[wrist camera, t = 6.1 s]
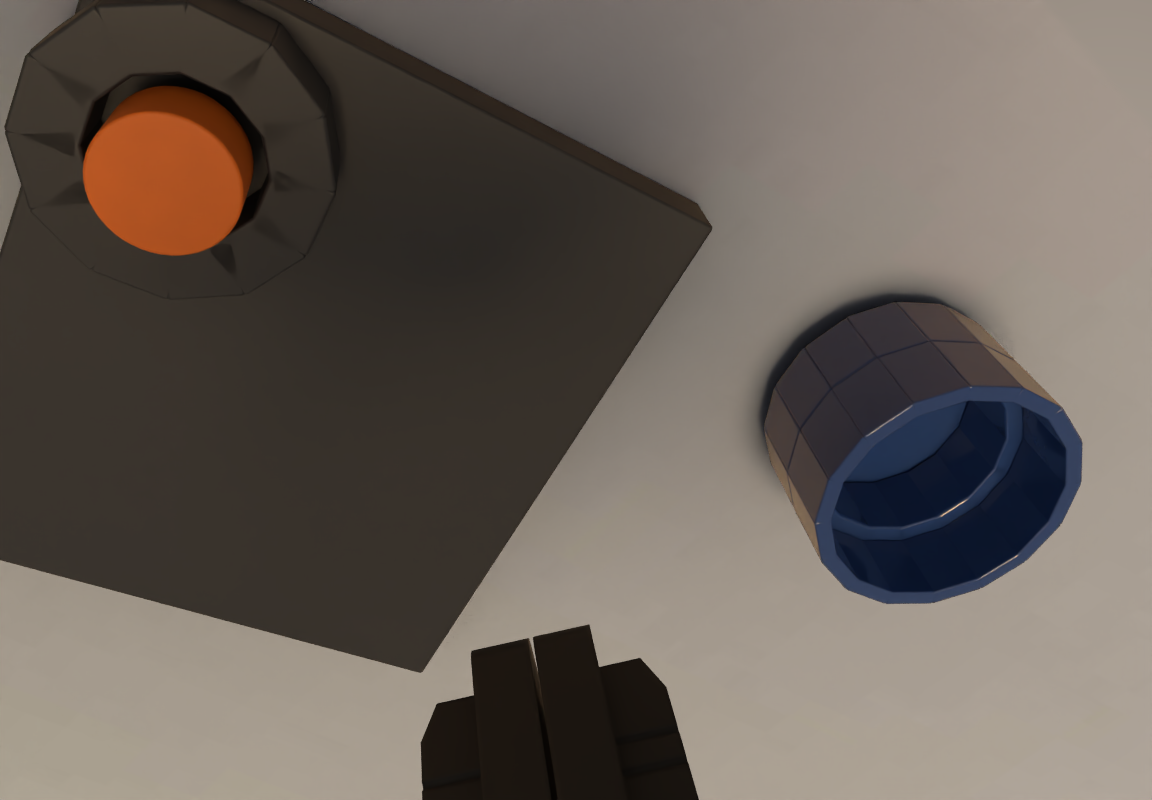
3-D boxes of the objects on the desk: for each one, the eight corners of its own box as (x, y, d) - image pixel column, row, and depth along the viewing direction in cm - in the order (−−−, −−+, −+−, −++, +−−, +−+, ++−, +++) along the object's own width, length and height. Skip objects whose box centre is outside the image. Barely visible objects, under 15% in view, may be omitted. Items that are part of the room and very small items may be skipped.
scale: (108, -102, 19) (63, -78, 16) (699, 203, 24) (734, 258, 21) (-79, 496, 25) (-131, 581, 22) (420, 637, 30) (423, 720, 27)
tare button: (129, 58, 18) (108, 83, 16) (275, 125, 19) (266, 154, 17) (85, 186, 19) (62, 219, 17) (225, 243, 20) (213, 279, 18)
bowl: (857, 253, 25) (937, 344, 21) (1037, 348, 27) (1138, 446, 24) (713, 448, 28) (763, 560, 24) (889, 520, 30) (959, 631, 26)
